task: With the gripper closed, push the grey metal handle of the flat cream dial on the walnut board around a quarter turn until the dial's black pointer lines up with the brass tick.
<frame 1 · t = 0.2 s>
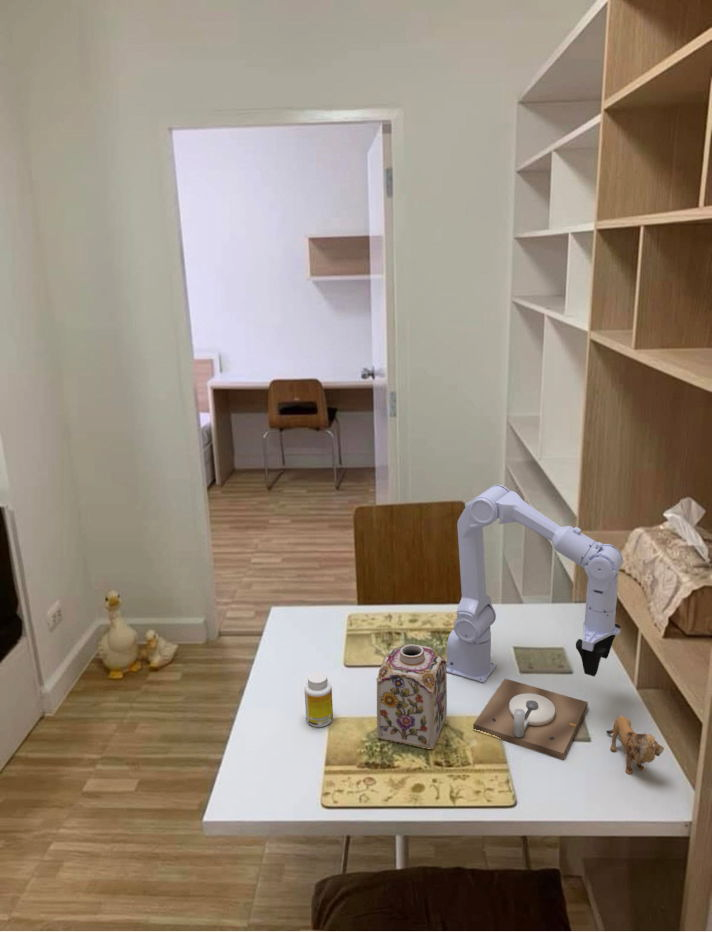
hand: (596, 665, 147), 10 cm above the table, tool pointing down, fingers open, 7 cm apart
decorative jar: (412, 728, 146), on the table
supplement bottle: (319, 720, 149), on the table
board: (531, 719, 147), on the table
dial: (531, 711, 146), point 2 cm above the table, hinge at 0.0°
lion figurine: (630, 760, 135), on the table
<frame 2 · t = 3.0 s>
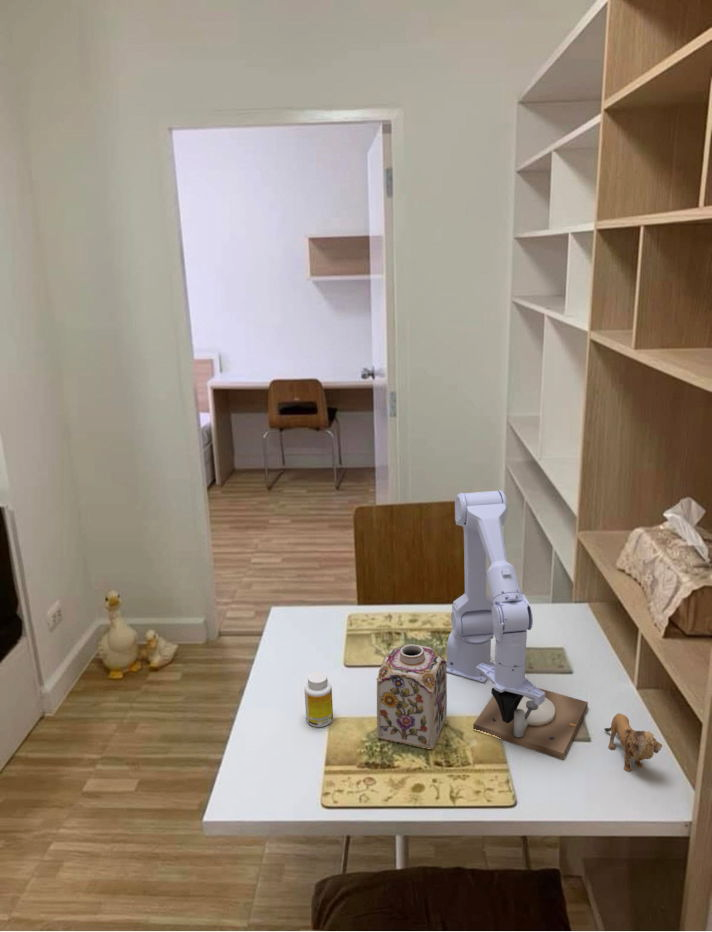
hand: (508, 719, 141), 4 cm above the table, tool pointing down, fingers closed
dial: (531, 711, 146), point 2 cm above the table, hinge at 0.0°, touching gripper
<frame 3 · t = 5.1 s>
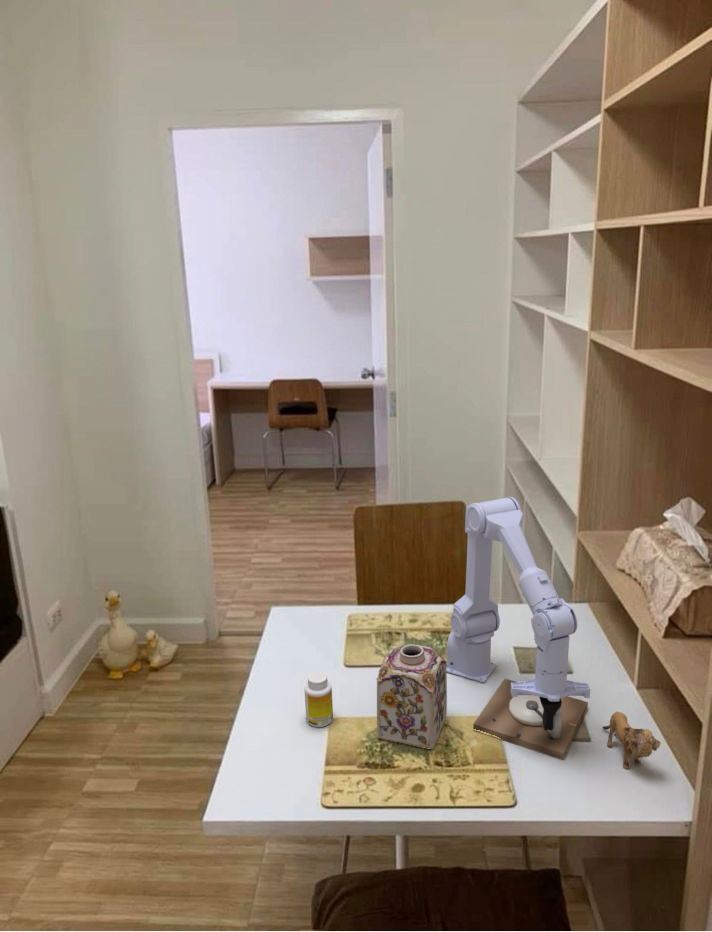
hand: (547, 727, 139), 4 cm above the table, tool pointing down, fingers closed, pressing on dial
dial: (531, 711, 146), point 2 cm above the table, hinge at 51.9°, touching gripper
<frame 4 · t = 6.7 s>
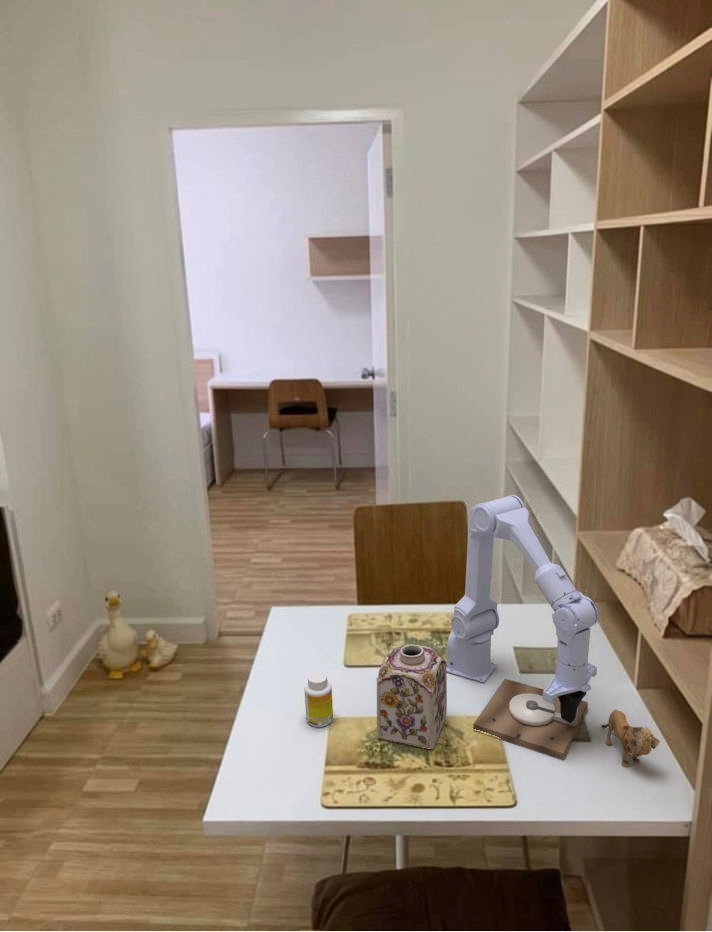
hand: (567, 719, 141), 4 cm above the table, tool pointing down, fingers closed
dial: (531, 711, 146), point 2 cm above the table, hinge at 92.0°, touching gripper
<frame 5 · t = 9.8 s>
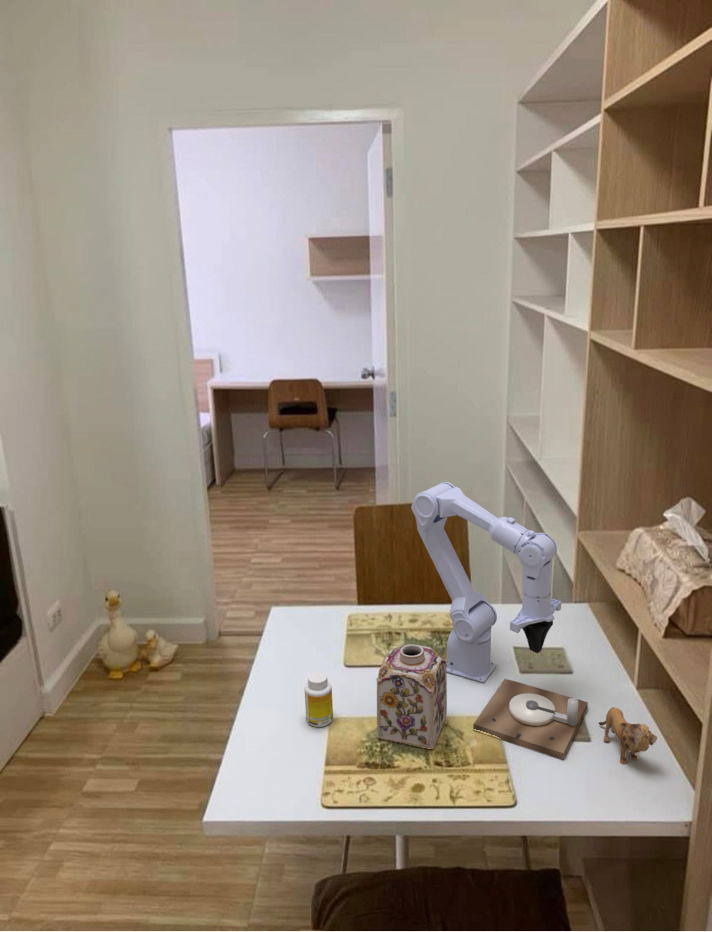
hand: (535, 650, 152), 10 cm above the table, tool pointing down, fingers closed
dial: (531, 711, 146), point 2 cm above the table, hinge at 92.3°
at the end: dial at +92° (first picture: +0°) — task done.
